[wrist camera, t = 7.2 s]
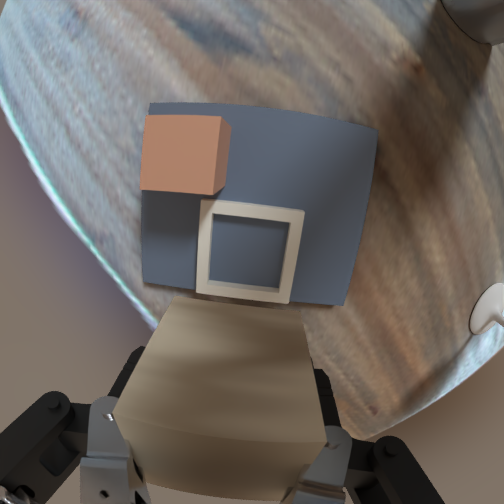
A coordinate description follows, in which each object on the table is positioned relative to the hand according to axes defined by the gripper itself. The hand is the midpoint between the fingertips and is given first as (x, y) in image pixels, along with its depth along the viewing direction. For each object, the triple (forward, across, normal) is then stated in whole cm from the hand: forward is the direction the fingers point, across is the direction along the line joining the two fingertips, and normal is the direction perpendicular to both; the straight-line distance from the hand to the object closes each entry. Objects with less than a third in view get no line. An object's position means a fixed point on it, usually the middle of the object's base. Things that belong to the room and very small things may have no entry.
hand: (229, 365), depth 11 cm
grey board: (+16, 0, -4) cm, 16 cm away
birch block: (+1, 0, 0) cm, 1 cm away
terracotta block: (+14, +5, -8) cm, 17 cm away
